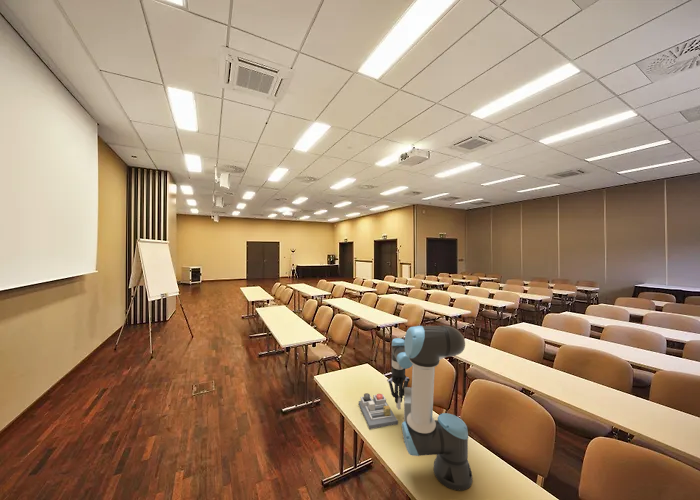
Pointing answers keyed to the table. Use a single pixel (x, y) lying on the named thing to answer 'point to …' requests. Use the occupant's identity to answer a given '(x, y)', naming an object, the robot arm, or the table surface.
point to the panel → (377, 413)
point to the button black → (366, 397)
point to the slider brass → (386, 410)
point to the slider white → (371, 406)
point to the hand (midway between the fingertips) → (398, 407)
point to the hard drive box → (407, 402)
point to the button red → (379, 396)
